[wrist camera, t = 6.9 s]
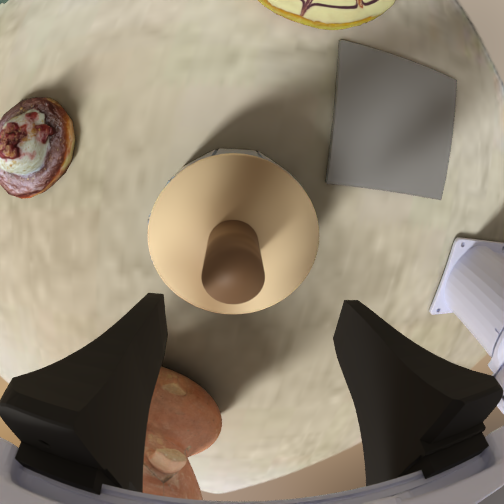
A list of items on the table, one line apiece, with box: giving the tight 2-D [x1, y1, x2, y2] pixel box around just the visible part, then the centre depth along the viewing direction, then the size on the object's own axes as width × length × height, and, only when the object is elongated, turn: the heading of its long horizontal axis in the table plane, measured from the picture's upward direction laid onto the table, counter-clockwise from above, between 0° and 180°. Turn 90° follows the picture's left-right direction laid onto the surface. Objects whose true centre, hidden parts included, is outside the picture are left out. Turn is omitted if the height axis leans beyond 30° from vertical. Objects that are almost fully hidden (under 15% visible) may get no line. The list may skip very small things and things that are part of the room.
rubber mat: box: [326, 40, 457, 200], centre depth 17 cm, size 10×10×1 cm
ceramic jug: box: [143, 367, 222, 500], centre depth 21 cm, size 18×14×14 cm
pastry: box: [0, 97, 75, 198], centre depth 14 cm, size 8×8×5 cm
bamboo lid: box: [148, 153, 319, 314], centre depth 14 cm, size 9×9×4 cm
